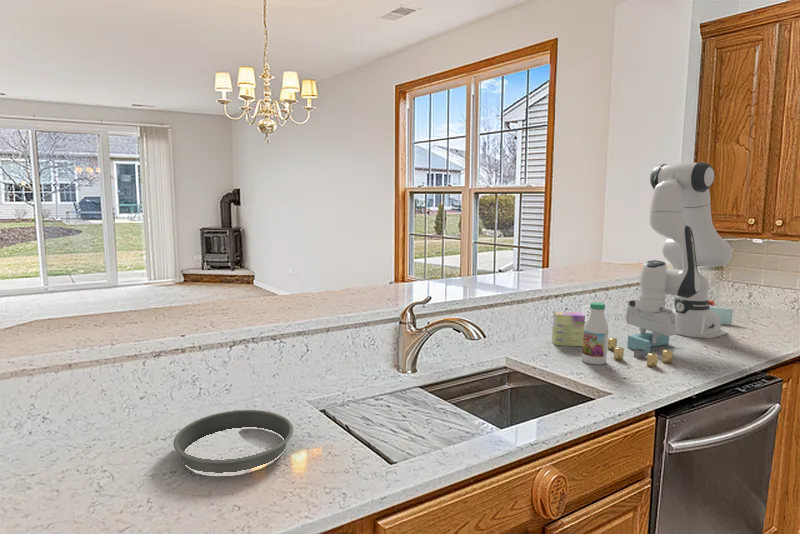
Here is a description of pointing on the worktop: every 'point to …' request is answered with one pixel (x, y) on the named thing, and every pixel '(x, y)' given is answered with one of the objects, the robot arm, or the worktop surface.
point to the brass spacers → (650, 357)
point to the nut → (640, 353)
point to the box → (568, 328)
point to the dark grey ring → (228, 422)
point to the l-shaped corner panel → (723, 314)
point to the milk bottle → (595, 336)
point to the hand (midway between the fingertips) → (648, 341)
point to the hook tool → (646, 341)
